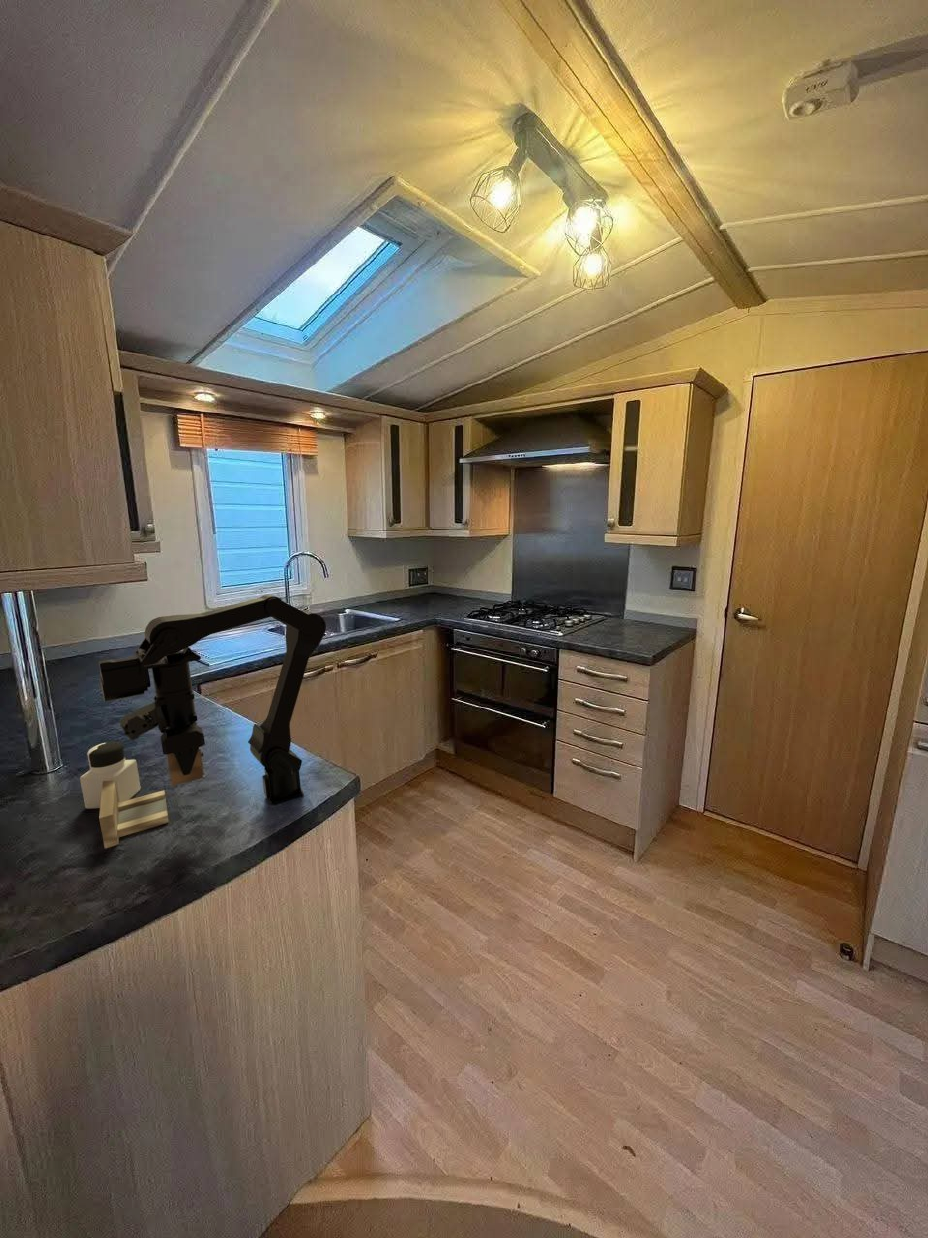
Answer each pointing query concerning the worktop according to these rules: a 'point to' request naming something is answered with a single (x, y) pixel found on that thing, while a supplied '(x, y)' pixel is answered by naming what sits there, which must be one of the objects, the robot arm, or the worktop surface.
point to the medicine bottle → (109, 774)
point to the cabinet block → (177, 774)
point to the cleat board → (129, 813)
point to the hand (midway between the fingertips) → (185, 768)
